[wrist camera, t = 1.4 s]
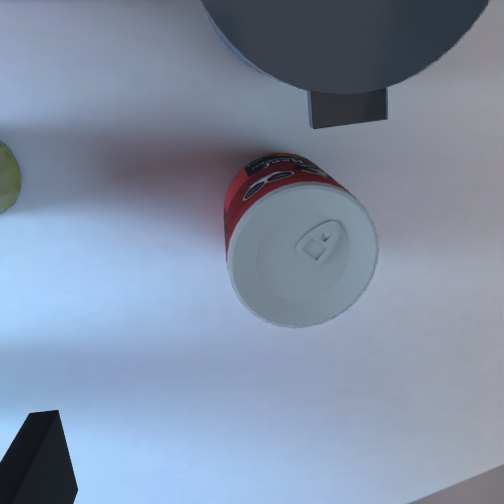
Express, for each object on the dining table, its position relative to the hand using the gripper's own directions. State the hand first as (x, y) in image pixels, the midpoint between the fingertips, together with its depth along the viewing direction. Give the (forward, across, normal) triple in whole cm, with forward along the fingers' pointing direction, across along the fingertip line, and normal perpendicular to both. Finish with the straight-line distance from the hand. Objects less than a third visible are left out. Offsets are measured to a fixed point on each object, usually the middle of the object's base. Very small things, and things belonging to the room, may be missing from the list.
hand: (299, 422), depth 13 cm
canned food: (+22, +2, +1) cm, 22 cm away
